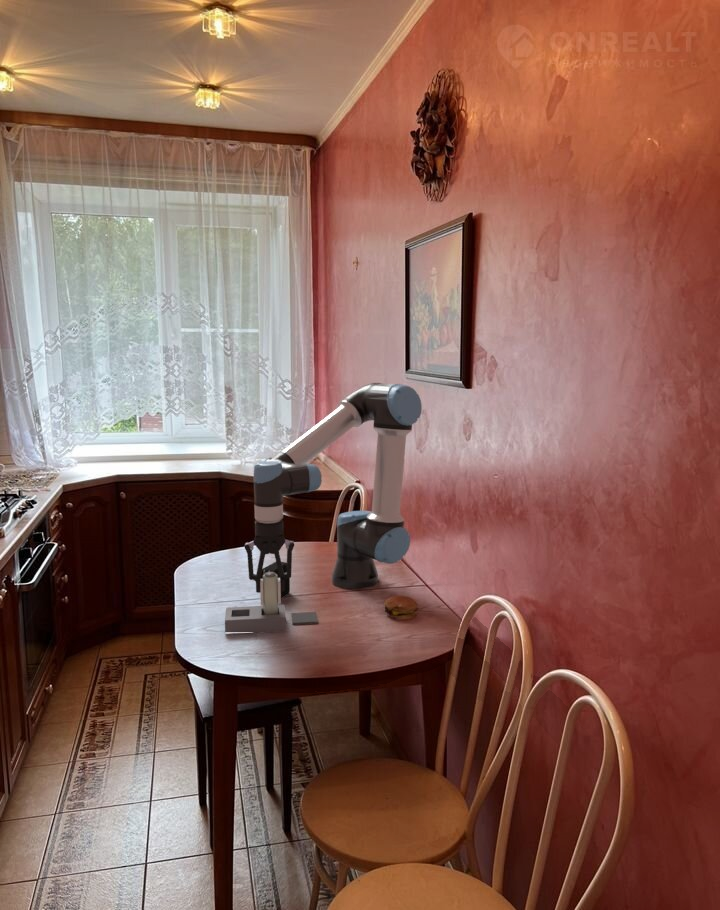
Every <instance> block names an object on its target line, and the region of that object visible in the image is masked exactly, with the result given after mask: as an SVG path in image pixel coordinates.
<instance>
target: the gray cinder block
mask: <svg viewBox="0 0 720 910" xmlns="http://www.w3.org/2000/svg"><path fill="white" fill-rule="evenodd" d="M285 608H286V607H285V604H278V615H264V611H263V605H248V606H229V607H226V608H225V614H224V615H225V617H224V633H225V632H265V633H278V632H279V633H280V632H287V631H286V630H287V623H286V622H287V620H286V619H287V618H286V615H287V614H286V609H285Z"/></svg>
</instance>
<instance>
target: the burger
mask: <svg viewBox="0 0 720 910" xmlns="http://www.w3.org/2000/svg"><path fill="white" fill-rule="evenodd" d="M383 606H384V612H385V613H386V614H387V616H388V617H390V618H391V619H397V620H398V621H408V620H413V619H414V618H415V617H416V616H417V614H418V613H419V611H420V610H419V606H418V602H417V601H416V600H415V599H414V598H412V597H410V596H405V595H394V596H390V597H388V598H387V599H386V600H385V601H384V604H383Z"/></svg>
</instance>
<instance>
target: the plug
mask: <svg viewBox="0 0 720 910" xmlns="http://www.w3.org/2000/svg"><path fill="white" fill-rule="evenodd" d="M263 602H264V605H262V606H263V611H264V615H278V605H279V604H278V575H277V574H275V572H267V573H265V574H264V575H263Z"/></svg>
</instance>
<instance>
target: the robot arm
mask: <svg viewBox="0 0 720 910" xmlns="http://www.w3.org/2000/svg"><path fill="white" fill-rule="evenodd" d="M422 408H423V407H422V400H421V398H420V395H419V393H418V392H417V391H416V389H414V388H413V387H411V386H409V385H404V384H400V383H381V382H372V383H368V384H366V385H363V386H362V387H359V388H358V389H356V390H354V391H353V392H351V393H350V394H349V395H347V396H346V397H345V398H343V399H342V400H340V402H338V406H337V408H336V409H334V410H333V411H331V412H330V413H329V414H328V415H327V416H325V417H324V418H323V419H322V420H320V421H319V422H317V423H316V424H315V425H314V426H312V427H311V428H310V429H309V430H307V431H306V432H304V433H303V434H302V435H300V437H298V438H297V439H295V440H294V441H293V442H292V443H291V444H289V445H288V446H286V447H285V448H283V450H282V451H280V452H278V453H277V454H276V455H274V456H273V457H265V458H262V459H260V460H259V461H258V462H256V463H255V465H254V466H253V478H252V479H253V480H252V481H253V497H254V501H253V502H254V505H253V507H254V519H255V520H254V538H253V540H252V541H250V542H248V541H247V542H245V543H244V550H245V552H246V553H247V555H246V556H247V567H248V579H249V580H250V581H255V592H256V593H260V606H263V605H264V602H263V579H261V574H262V569H263V568H264V562H265V558H266V555H269V554H271V555H274V559H275V562H276V563H277V567H278V571H279V576H280V578H278V605H282V598H281V591H284V590H285V579H287V578H290V579H291V578H292V567H293V566H292V564H293V563H292V560H293V559H292V558H293V550H294V547H295V541H294V540H290V539H289V540H288V539H286V536H284V520H283V518H284V502H283V501H284V496H291V495H297V494H304V493H310V492H314V491H317V490H318V489H320V487H321V485H322V472H321V469H320V468H319V466H317V465H316V464H313V463H312V464H311V463H310V461H312V460H313V459H315V458H316V457H317V456H318V455H320V453H322V452H324V450H326V449H327V448H329V446H331V445H332V444H333V443H334V442H336V441H337V440H338V439H340V438H341V437H342V436H343V435H345V434H346V433H347V432H349V431H350V430H351V429H352V428H358V427H360V426H361V425H363V424H364V423H367V422H370V421H373V429H374V430H375V432H376V433H377V442H376V454H375V455H376V456H375V463H374V464H375V466H374V467H375V469H374V477H373V478H374V480H373V481H374V482H373V491H372V492H373V493H372V505H371V506H372V507H371V511H370V510H351V511H346V512H342V513H340V514H339V515H338V517H337V522H336V523H337V524H336V539H337V540H336V543H337V544H336V547H337V549H336V550H337V551H336V553H337V555H336V561H335V564H334V567H333V570H332V573H331V583H332V584H333V585H334V586H336V587H340V588H342V589H350V590H354V589H355V590H357V589H359V590H360V589H369V588H371V587H373V586H376V585H377V584H378V583H379V572H378V569H377V566H376V564H375V561H374V560H376V561H377V562H379V563H384V564H388V565H389V564H390V565H392V564H396V563H398V562H399V561H401V560H403V558H404V557H405V556H406V554H407V553H408V551H409V549H410V546H411V535H410V533H409V531H408V530H407V529H405V528H404V527H405V518H404V516H402V514H401V501H402V492H403V491H402V489H403V481H404V479H403V478H404V477H403V476H404V468H405V467H404V466H405V455H406V454H405V453H406V443H407V436H408V434H410V433H411V432H412V429H413V425H414V424H415V423H417V421H418V419H420V417H421V414H422ZM308 463H310V464H308ZM283 545H285V549H286V563H287V572H286V573H284V572H283V567H282V563H281V562H282V559H281V555H280V550H281V549H282V548H283ZM254 546H255V547H256V548H257V549H258V550H259V557H258V564H257V567H256V568H257V569H256V573H255V574H254V561H253V560H254V559H253V550H254Z"/></svg>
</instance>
